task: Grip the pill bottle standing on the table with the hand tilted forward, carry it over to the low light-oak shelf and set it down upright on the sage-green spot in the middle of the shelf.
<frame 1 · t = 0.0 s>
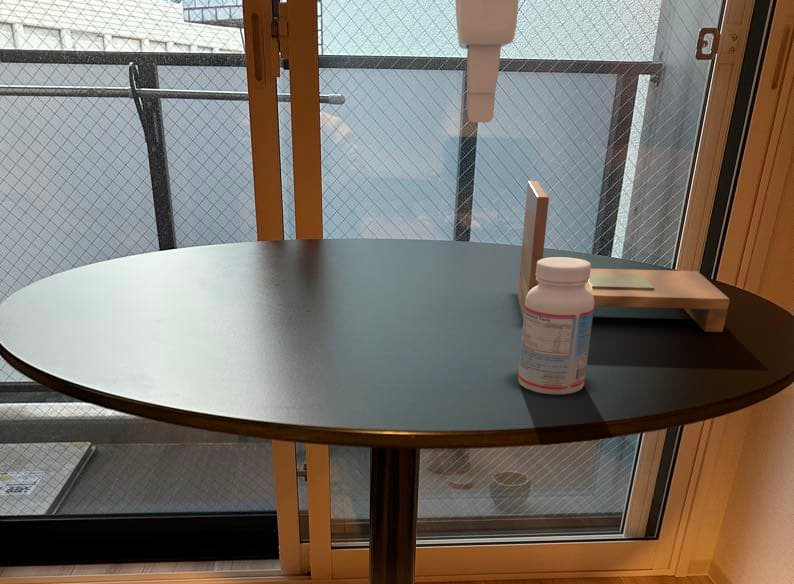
hand: (478, 118, 61), 22 cm above the table, tool pointing down, fingers open, 8 cm apart
shelf: (612, 315, 97), on the table
pill bottle: (549, 388, 75), on the table
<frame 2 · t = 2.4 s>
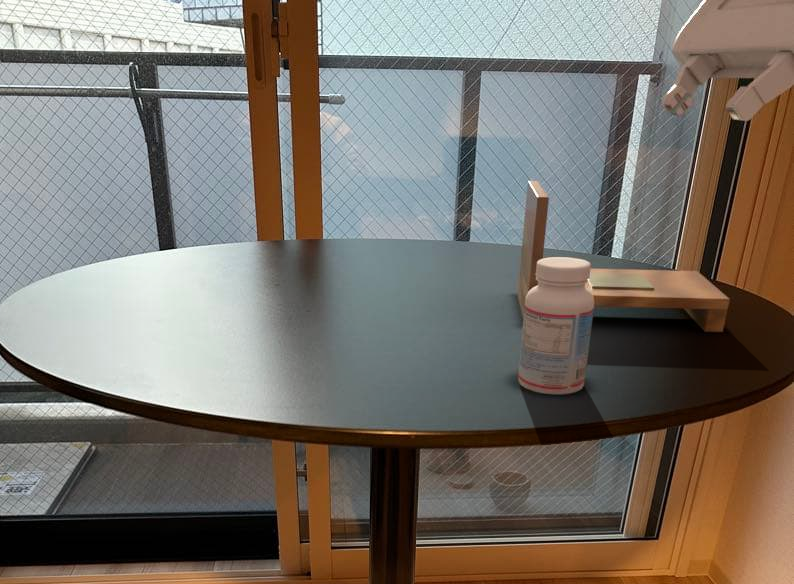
hand: (700, 112, 66), 23 cm above the table, tool tilted 40°, fingers open, 8 cm apart
nothing on the table moved.
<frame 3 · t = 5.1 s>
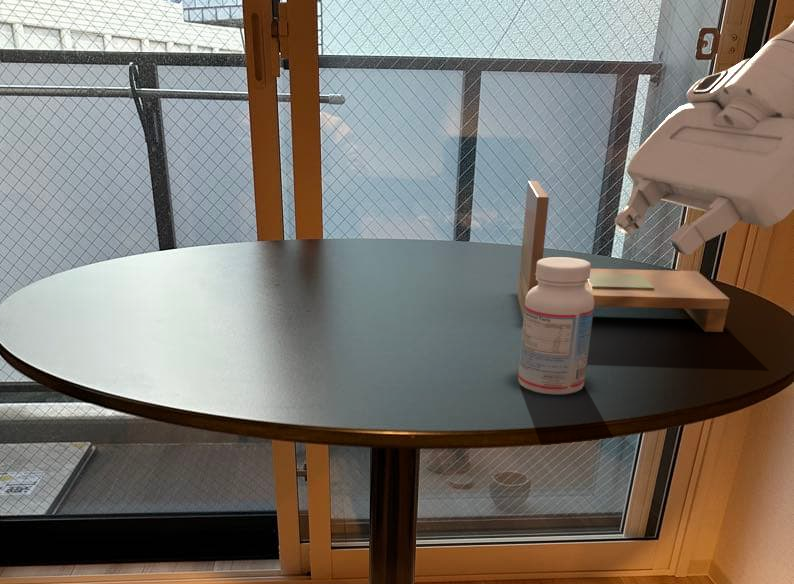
hand: (647, 238, 70), 13 cm above the table, tool tilted 45°, fingers open, 8 cm apart
nothing on the table moved.
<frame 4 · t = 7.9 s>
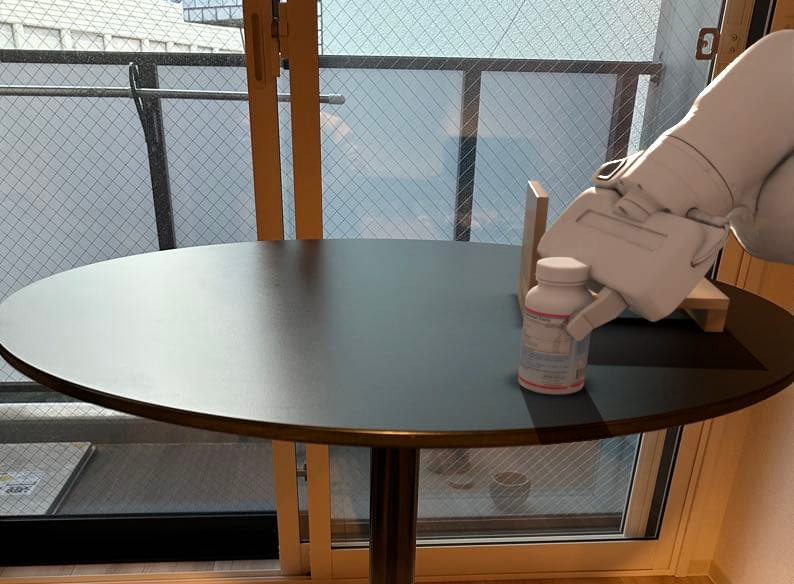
hand: (550, 322, 72), 6 cm above the table, tool tilted 45°, fingers closed on pill bottle, 6 cm apart
pill bottle: (549, 388, 75), on the table, touching gripper
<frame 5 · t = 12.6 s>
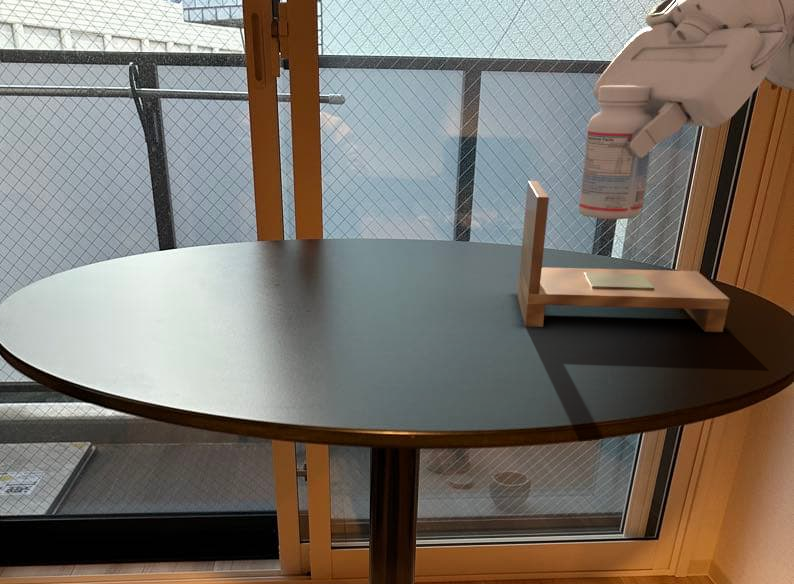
hand: (611, 148, 77), 19 cm above the table, tool tilted 45°, fingers closed on pill bottle, 6 cm apart
pill bottle: (608, 217, 80), point 13 cm above the table, touching gripper
when the fingers open (10 cm above the table, at t = 17.3 s): pill bottle stays where it is, resting on shelf.
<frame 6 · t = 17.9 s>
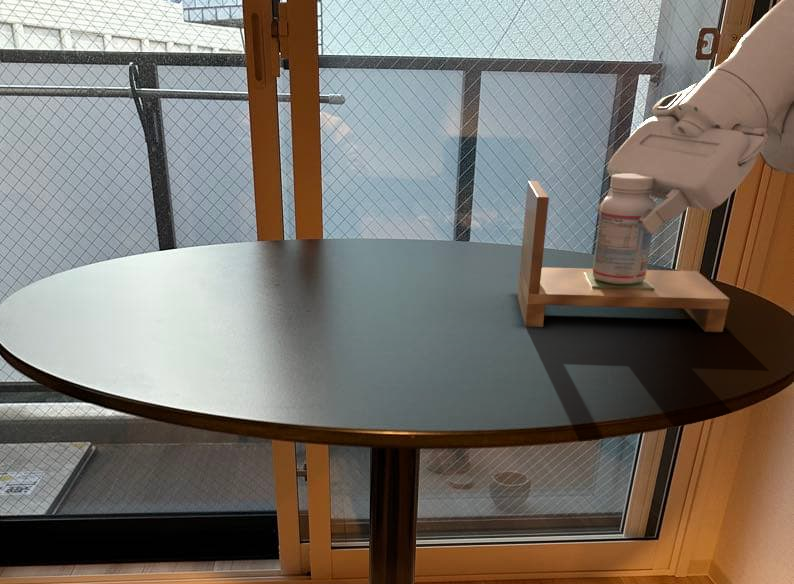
hand: (622, 221, 91), 11 cm above the table, tool tilted 45°, fingers open, 8 cm apart
pill bottle: (617, 281, 95), point 4 cm above the table, touching shelf
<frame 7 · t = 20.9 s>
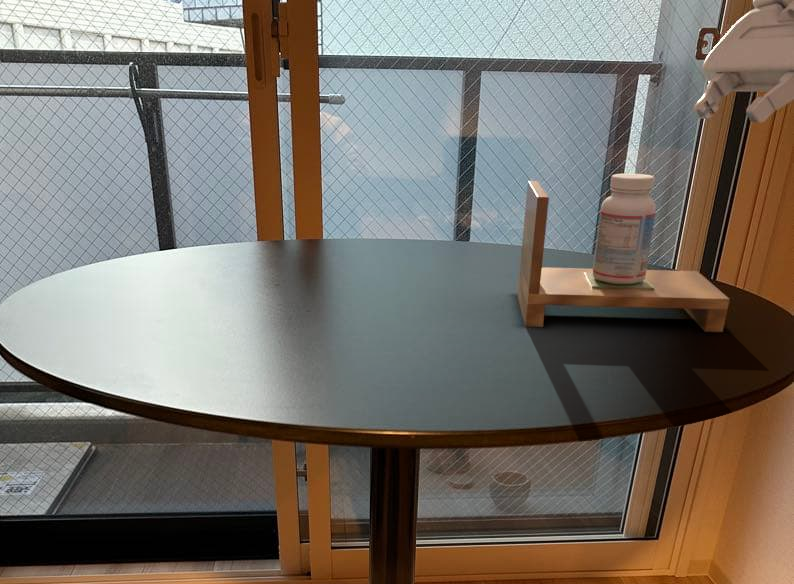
hand: (724, 116, 85), 21 cm above the table, tool tilted 45°, fingers open, 8 cm apart
nothing on the table moved.
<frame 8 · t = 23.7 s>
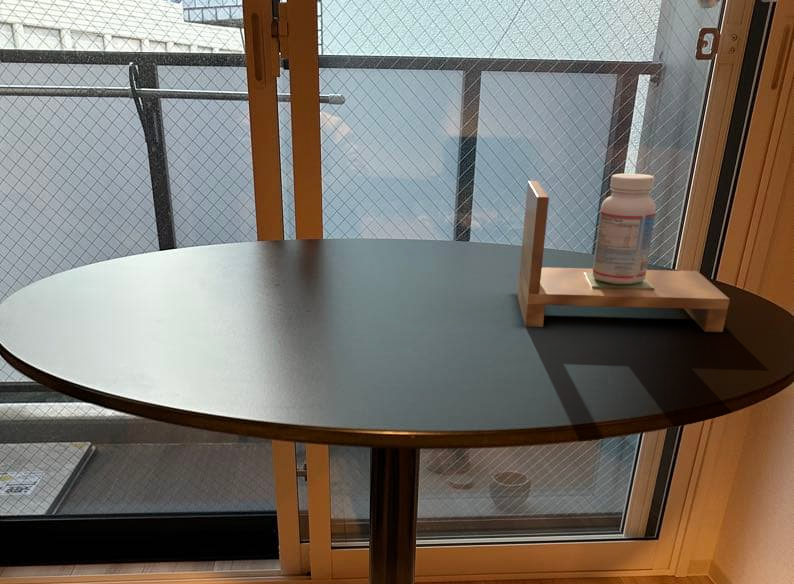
nothing on the table moved.
at the end: pill bottle inside the target area on the shelf (0.1 cm from its centre), point 4.0 cm above the shelf's base; pill bottle tilted 0°; the gripper is holding nothing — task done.
